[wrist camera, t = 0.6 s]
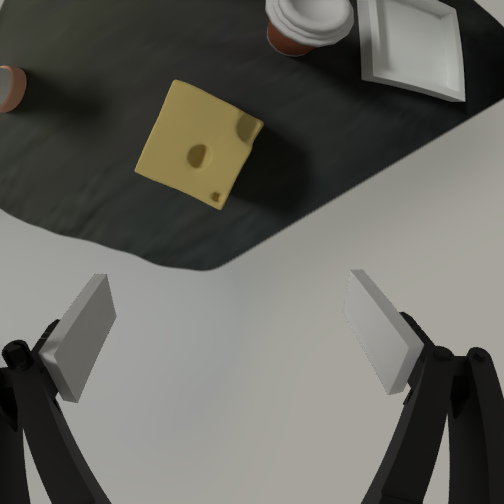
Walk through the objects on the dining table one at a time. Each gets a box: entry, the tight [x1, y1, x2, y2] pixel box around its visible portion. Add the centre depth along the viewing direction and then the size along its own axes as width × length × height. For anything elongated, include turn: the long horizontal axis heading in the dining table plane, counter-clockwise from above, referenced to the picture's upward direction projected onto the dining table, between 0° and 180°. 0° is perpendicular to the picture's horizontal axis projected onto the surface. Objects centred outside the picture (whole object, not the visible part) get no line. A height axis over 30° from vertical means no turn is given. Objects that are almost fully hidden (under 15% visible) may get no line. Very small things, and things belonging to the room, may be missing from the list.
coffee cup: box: [265, 0, 354, 57], centre depth 25 cm, size 9×9×12 cm
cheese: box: [135, 80, 264, 210], centre depth 31 cm, size 10×11×10 cm
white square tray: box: [357, 0, 465, 102], centre depth 29 cm, size 17×17×4 cm
